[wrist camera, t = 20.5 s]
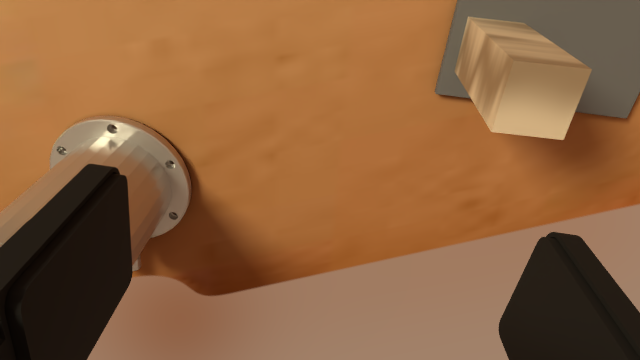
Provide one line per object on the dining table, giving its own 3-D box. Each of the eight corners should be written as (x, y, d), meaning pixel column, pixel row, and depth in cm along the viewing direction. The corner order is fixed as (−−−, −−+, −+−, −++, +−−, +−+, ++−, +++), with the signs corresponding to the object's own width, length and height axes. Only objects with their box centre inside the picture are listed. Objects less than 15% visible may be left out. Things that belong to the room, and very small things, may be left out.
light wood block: (507, 77, 35) (563, 140, 26) (454, 71, 35) (491, 131, 26) (524, 22, 33) (591, 69, 24) (468, 16, 33) (513, 60, 24)
